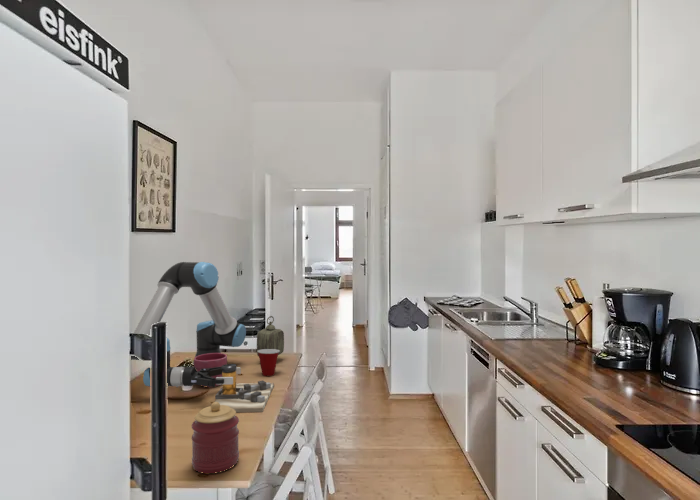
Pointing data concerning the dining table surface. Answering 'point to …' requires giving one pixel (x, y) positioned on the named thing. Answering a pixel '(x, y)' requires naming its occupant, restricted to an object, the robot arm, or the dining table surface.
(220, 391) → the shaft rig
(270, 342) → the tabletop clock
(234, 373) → the orange translucent cylinder
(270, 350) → the plastic cup
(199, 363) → the plant pot
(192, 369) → the robot arm
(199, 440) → the canister
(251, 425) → the dining table surface
